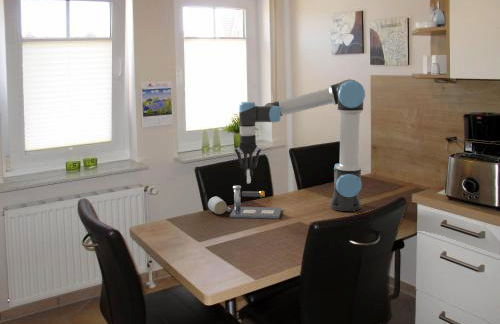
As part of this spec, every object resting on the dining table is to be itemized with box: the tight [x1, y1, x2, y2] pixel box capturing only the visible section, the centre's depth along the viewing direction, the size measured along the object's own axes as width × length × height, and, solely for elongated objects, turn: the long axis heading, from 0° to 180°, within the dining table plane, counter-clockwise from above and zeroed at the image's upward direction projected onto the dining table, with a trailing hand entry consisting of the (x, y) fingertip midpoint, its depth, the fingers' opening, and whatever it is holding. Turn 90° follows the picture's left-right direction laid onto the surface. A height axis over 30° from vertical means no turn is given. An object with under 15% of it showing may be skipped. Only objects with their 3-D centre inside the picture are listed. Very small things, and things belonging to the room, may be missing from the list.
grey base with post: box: [229, 184, 283, 220], centre depth 256 cm, size 24×14×13 cm, turn 82°
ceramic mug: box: [207, 195, 232, 215], centre depth 260 cm, size 11×8×8 cm
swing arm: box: [241, 190, 265, 198], centre depth 259 cm, size 11×3×2 cm, turn 82°
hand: (248, 182), depth 252 cm, fingers closed
